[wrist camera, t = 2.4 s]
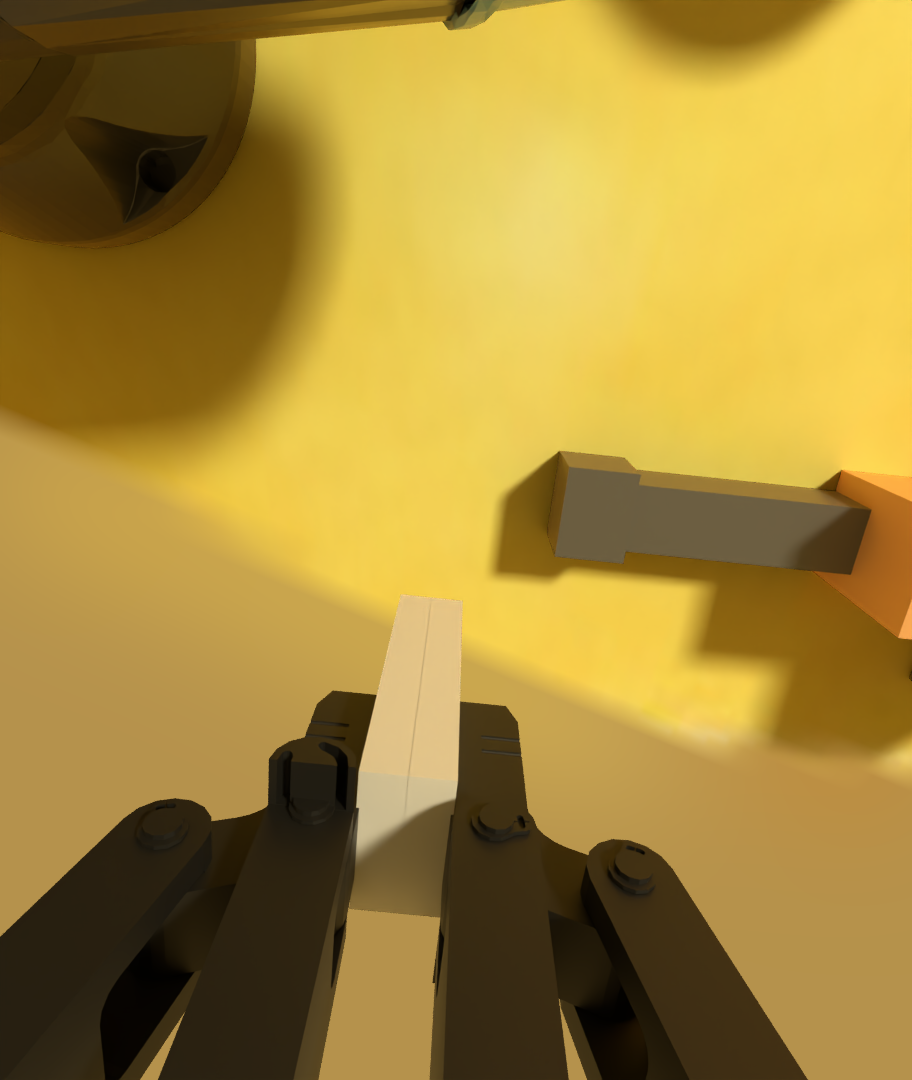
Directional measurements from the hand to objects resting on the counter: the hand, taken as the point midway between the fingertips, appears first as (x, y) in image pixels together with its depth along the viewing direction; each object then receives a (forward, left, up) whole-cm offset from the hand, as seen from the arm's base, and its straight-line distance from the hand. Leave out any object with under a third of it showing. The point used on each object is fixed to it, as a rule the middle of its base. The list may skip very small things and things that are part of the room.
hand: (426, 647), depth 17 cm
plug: (0, +14, -16) cm, 21 cm away
